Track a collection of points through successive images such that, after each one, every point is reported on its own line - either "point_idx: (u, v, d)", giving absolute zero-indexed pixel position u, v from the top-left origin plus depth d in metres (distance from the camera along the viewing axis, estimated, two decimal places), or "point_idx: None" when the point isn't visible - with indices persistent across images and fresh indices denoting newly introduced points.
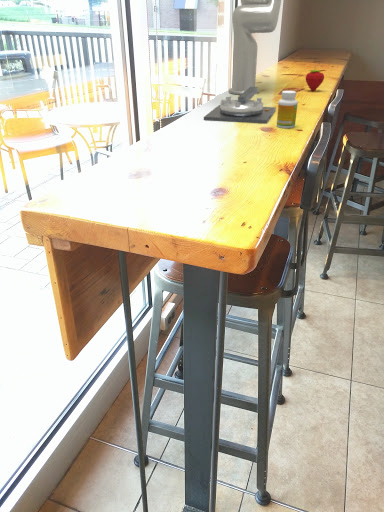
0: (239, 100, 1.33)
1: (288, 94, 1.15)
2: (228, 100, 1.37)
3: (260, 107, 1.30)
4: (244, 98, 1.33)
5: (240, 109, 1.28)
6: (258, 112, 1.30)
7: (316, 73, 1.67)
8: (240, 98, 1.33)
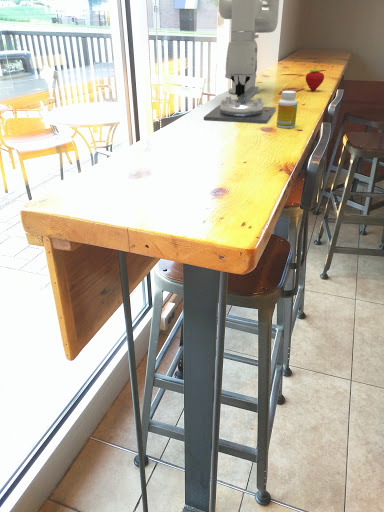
0: (239, 100, 1.33)
1: (288, 94, 1.15)
2: (228, 100, 1.37)
3: (260, 107, 1.30)
4: (244, 98, 1.33)
5: (239, 109, 1.28)
6: (258, 112, 1.30)
7: (316, 73, 1.67)
8: (240, 98, 1.33)
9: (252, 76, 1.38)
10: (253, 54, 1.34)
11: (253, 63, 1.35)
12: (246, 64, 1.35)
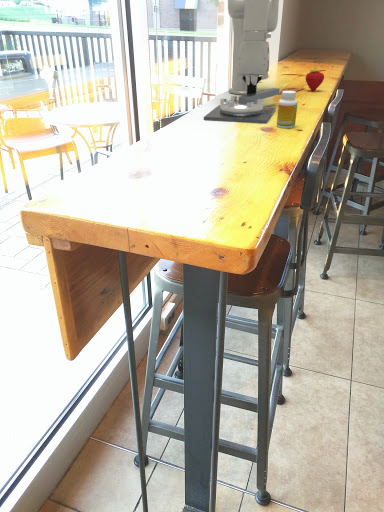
0: (239, 100, 1.34)
1: (288, 94, 1.15)
2: (233, 99, 1.38)
3: (254, 108, 1.29)
4: (244, 98, 1.32)
5: (231, 109, 1.29)
6: (252, 113, 1.29)
7: (316, 73, 1.67)
8: (240, 98, 1.33)
9: (264, 76, 1.37)
10: (265, 54, 1.32)
11: (265, 63, 1.34)
12: (258, 64, 1.34)
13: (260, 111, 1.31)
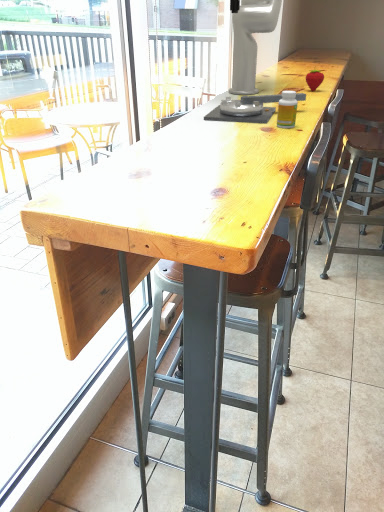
0: (241, 100, 1.34)
1: (288, 94, 1.15)
2: None
3: (241, 109, 1.28)
4: (242, 98, 1.32)
5: (222, 107, 1.32)
6: (238, 114, 1.29)
7: (316, 73, 1.67)
8: (241, 98, 1.33)
9: None
10: None
11: None
12: None
13: (250, 113, 1.29)
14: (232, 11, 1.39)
